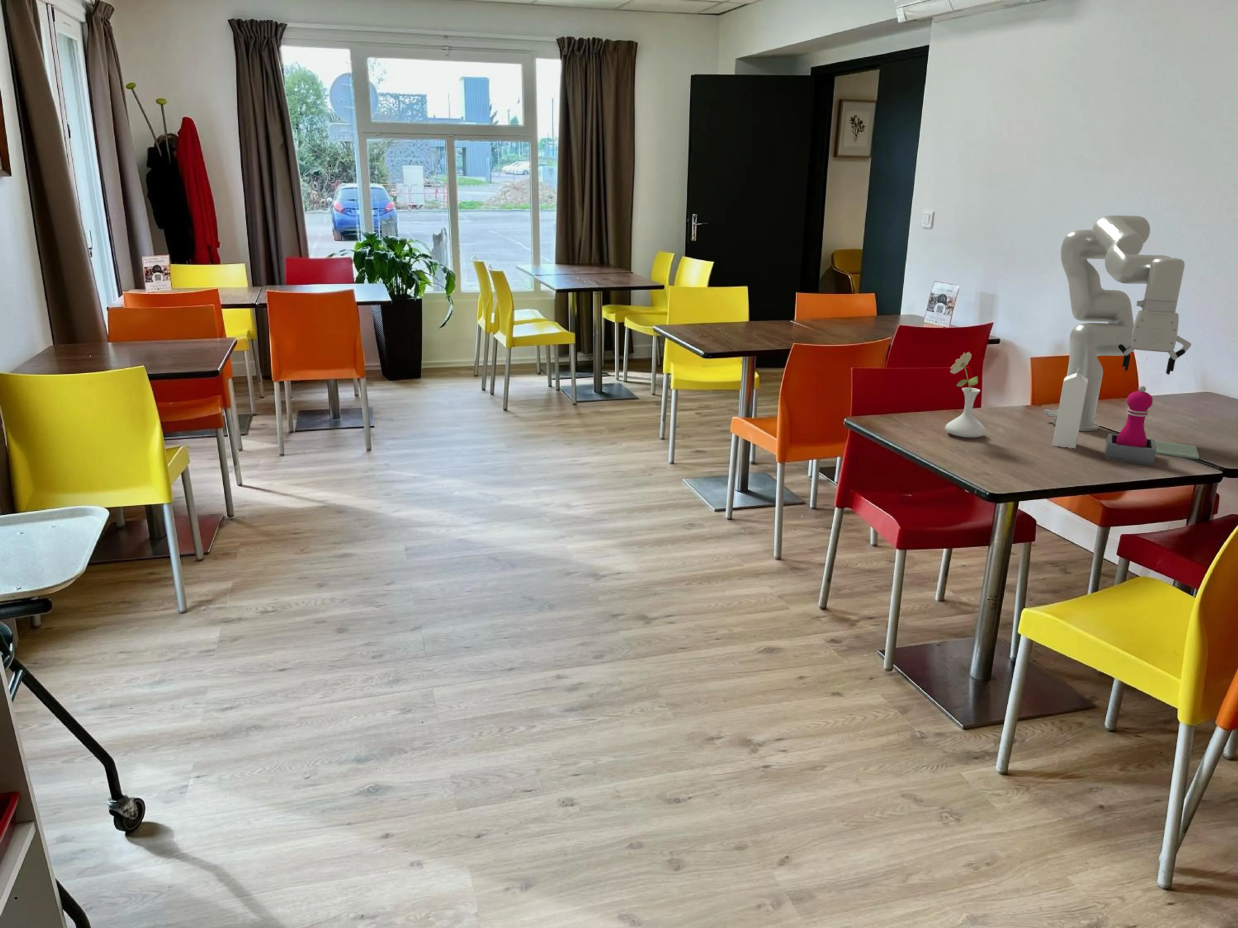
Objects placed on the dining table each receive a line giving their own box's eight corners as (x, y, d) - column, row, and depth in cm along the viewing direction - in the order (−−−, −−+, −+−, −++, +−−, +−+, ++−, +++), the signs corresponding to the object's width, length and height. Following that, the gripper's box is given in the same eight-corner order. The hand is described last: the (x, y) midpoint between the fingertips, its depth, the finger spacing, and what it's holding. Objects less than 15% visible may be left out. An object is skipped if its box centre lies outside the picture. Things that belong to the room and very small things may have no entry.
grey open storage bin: (1104, 459, 240) (1107, 443, 238) (1105, 448, 249) (1108, 433, 248) (1152, 466, 235) (1156, 450, 233) (1151, 454, 244) (1154, 439, 243)
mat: (1140, 451, 247) (1140, 449, 247) (1139, 440, 257) (1139, 438, 257) (1198, 459, 241) (1199, 457, 241) (1195, 447, 251) (1195, 445, 251)
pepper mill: (1147, 462, 238) (1162, 389, 232) (1118, 460, 239) (1132, 388, 233) (1138, 454, 245) (1152, 383, 238) (1109, 452, 246) (1123, 382, 240)
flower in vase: (968, 428, 267) (979, 346, 259) (993, 439, 257) (1007, 354, 249) (931, 431, 263) (942, 348, 256) (956, 442, 253) (968, 356, 245)
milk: (1076, 444, 254) (1091, 368, 247) (1075, 449, 249) (1090, 372, 242) (1053, 440, 256) (1067, 366, 249) (1051, 445, 251) (1065, 369, 244)
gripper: (1121, 305, 230) (1109, 370, 235) (1199, 310, 222) (1185, 377, 227) (1121, 303, 236) (1109, 366, 241) (1197, 307, 228) (1183, 372, 233)
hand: (1146, 371), depth 234 cm, fingers open, 9 cm apart
